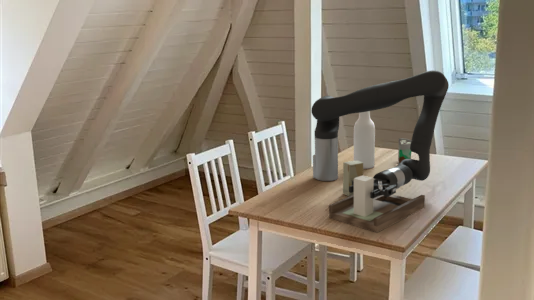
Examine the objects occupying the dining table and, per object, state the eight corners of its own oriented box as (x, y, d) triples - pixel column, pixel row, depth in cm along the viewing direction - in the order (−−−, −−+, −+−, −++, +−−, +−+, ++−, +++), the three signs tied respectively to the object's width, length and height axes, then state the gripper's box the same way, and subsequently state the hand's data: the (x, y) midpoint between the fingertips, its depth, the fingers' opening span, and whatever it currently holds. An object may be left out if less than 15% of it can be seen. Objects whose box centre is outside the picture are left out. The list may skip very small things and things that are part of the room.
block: (353, 213, 185) (353, 178, 181) (361, 209, 188) (362, 175, 184) (364, 216, 181) (365, 181, 178) (373, 212, 184) (373, 177, 181)
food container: (413, 168, 238) (414, 145, 235) (398, 167, 239) (399, 144, 237) (412, 160, 250) (413, 138, 247) (398, 159, 251) (398, 137, 248)
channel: (329, 217, 188) (329, 205, 186) (377, 195, 206) (378, 184, 205) (377, 232, 174) (377, 219, 173) (424, 207, 193) (424, 195, 192)
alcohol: (350, 167, 242) (350, 98, 234) (358, 162, 249) (358, 95, 241) (369, 170, 237) (370, 99, 229) (377, 164, 244) (378, 96, 237)
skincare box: (349, 197, 206) (349, 165, 203) (342, 193, 210) (342, 162, 207) (363, 193, 209) (363, 162, 206) (356, 190, 213) (356, 159, 210)
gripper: (371, 166, 196) (342, 177, 185) (407, 173, 186) (379, 186, 175) (371, 186, 198) (342, 198, 187) (406, 195, 188) (378, 208, 177)
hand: (360, 192), depth 181 cm, fingers open, 8 cm apart
